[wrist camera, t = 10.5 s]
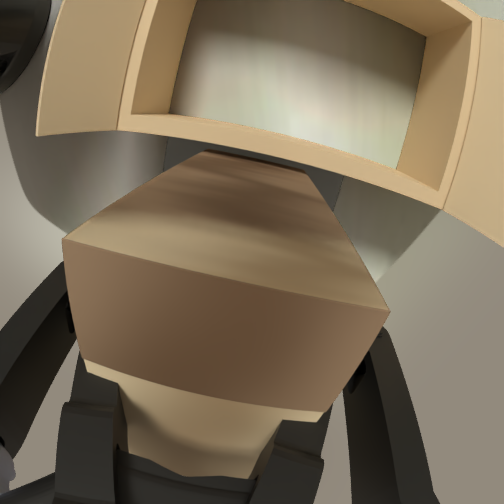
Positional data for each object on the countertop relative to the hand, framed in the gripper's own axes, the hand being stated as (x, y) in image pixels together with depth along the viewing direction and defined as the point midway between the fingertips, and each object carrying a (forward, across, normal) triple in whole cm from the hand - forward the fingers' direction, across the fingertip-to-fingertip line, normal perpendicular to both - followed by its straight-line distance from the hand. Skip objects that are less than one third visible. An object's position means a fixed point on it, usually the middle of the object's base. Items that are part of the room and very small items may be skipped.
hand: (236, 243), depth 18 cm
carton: (+7, +2, +13) cm, 15 cm away
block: (+2, 0, 0) cm, 2 cm away
